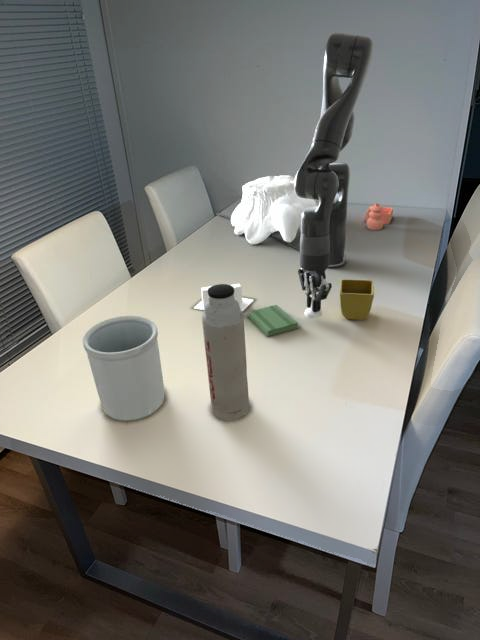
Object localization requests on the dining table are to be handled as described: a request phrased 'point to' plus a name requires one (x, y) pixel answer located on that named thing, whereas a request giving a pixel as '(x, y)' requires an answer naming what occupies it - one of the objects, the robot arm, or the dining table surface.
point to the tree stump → (269, 209)
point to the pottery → (378, 216)
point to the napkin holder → (237, 296)
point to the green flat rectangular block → (272, 320)
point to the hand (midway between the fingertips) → (313, 308)
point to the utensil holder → (126, 366)
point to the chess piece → (312, 314)
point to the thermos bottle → (225, 353)
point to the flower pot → (356, 298)
